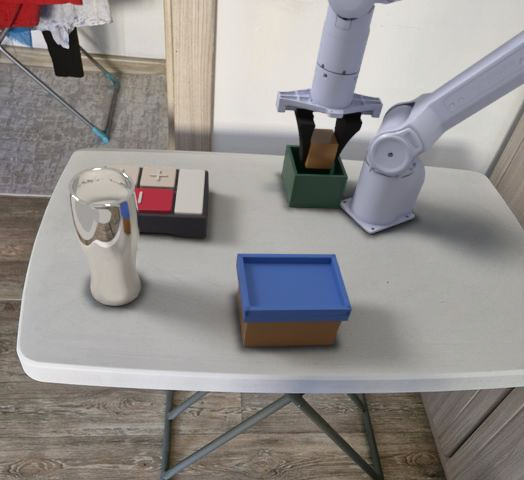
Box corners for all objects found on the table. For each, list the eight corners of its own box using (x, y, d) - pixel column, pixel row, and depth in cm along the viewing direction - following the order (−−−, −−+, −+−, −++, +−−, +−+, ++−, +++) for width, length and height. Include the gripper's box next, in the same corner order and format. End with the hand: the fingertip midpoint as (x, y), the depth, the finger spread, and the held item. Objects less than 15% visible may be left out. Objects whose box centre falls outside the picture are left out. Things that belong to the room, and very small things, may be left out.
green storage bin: (328, 177, 86) (336, 146, 82) (339, 208, 81) (348, 177, 77) (281, 175, 85) (286, 144, 80) (288, 207, 80) (294, 175, 76)
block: (326, 153, 80) (332, 129, 77) (332, 169, 78) (338, 144, 75) (301, 152, 80) (306, 127, 77) (306, 168, 77) (311, 143, 74)
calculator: (103, 160, 75) (208, 165, 76) (108, 186, 79) (209, 190, 80) (89, 208, 68) (205, 213, 70) (95, 234, 72) (206, 238, 73)
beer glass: (143, 268, 68) (136, 165, 56) (145, 307, 64) (138, 206, 52) (87, 269, 67) (67, 165, 55) (86, 310, 63) (64, 207, 51)
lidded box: (323, 294, 69) (335, 254, 64) (337, 347, 64) (352, 309, 58) (232, 294, 67) (237, 253, 62) (239, 350, 62) (245, 310, 56)
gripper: (288, 75, 64) (273, 172, 75) (400, 83, 67) (369, 176, 77) (280, 49, 68) (266, 145, 79) (385, 57, 71) (358, 149, 82)
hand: (317, 158), depth 78 cm, fingers closed on block, 4 cm apart
